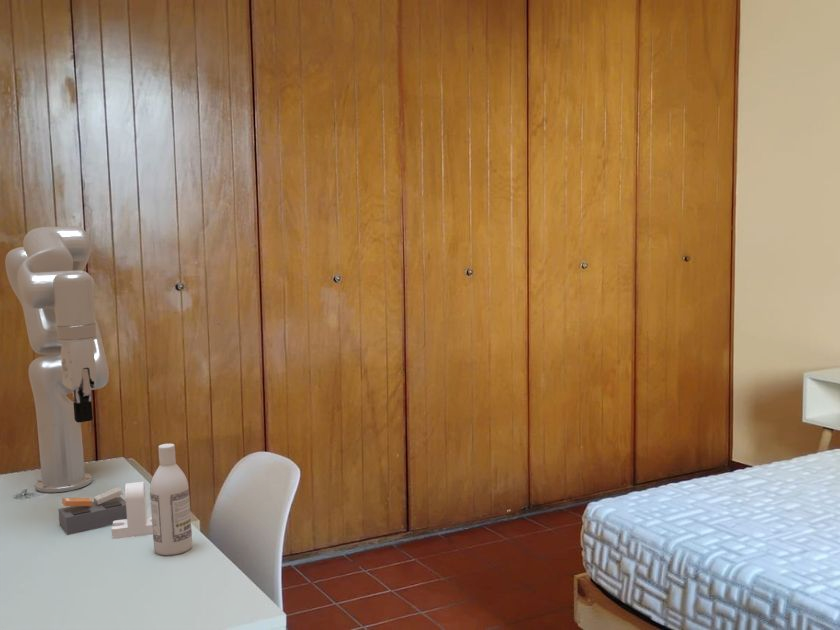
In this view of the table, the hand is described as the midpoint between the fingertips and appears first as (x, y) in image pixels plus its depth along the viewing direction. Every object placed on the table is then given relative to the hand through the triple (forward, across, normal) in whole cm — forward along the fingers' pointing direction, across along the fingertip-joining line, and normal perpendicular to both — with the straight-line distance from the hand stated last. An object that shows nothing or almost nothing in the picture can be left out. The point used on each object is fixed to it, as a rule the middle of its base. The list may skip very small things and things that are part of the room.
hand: (83, 420), depth 174 cm
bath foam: (+21, +28, +8) cm, 36 cm away
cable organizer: (+21, +14, +6) cm, 26 cm away
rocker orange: (+16, +2, -3) cm, 17 cm away
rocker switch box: (+21, +2, 0) cm, 21 cm away
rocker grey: (+16, +2, +3) cm, 17 cm away
